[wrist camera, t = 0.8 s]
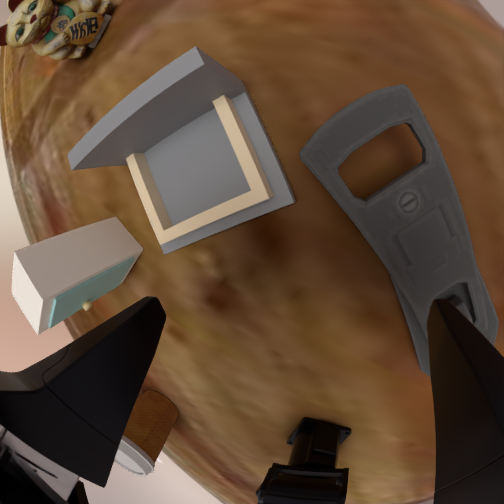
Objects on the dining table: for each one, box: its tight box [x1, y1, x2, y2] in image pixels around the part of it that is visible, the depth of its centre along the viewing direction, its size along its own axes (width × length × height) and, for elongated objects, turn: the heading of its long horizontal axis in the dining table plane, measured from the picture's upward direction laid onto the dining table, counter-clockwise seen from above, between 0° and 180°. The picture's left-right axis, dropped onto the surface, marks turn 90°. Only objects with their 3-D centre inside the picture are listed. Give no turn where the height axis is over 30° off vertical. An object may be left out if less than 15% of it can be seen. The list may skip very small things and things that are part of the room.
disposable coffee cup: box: [114, 390, 179, 477], centre depth 30 cm, size 10×10×12 cm
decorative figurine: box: [0, 0, 111, 60], centre depth 14 cm, size 10×8×15 cm
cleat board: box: [67, 47, 296, 255], centre depth 19 cm, size 11×13×8 cm
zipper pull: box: [299, 84, 499, 377], centre depth 16 cm, size 9×7×25 cm
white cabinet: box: [12, 216, 143, 335], centre depth 22 cm, size 6×6×13 cm
